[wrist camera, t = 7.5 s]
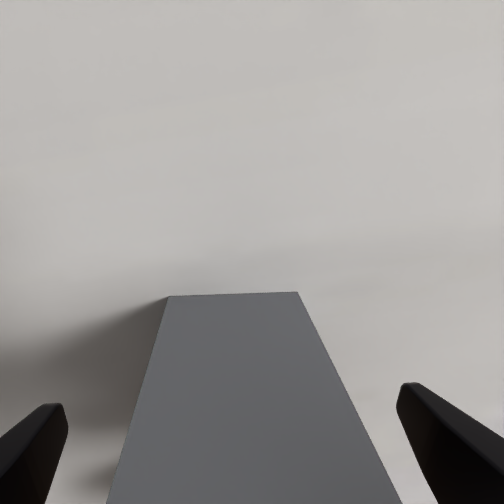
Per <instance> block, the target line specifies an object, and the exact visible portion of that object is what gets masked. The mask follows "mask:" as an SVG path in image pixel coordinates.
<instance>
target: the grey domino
mask: <svg viewBox="0 0 504 504" xmlns="http://www.w3.org/2000/svg"><path fill="white" fill-rule="evenodd" d="M106 504H402V502H401V500H400V498H399V496H398V494H397V492H396V490H395V488H394V486H393V484H392V482H391V480H390V478H389V476H388V474H387V472H386V470H385V468H384V466H383V464H382V462H381V460H380V457H379V455H378V453H377V451H376V449H375V447H374V445H373V443H372V441H371V439H370V437H369V435H368V433H367V431H366V429H365V427H364V425H363V423H362V421H361V419H360V417H359V415H358V413H357V411H356V409H355V407H354V405H353V403H352V401H351V399H350V397H349V395H348V393H347V391H346V389H345V387H344V385H343V383H342V381H341V379H340V377H339V375H338V373H337V371H336V369H335V367H334V365H333V363H332V361H331V359H330V357H329V355H328V353H327V351H326V349H325V347H324V344H323V342H322V340H321V338H320V336H319V334H318V332H317V330H316V328H315V326H314V324H313V322H312V320H311V318H310V316H309V314H308V312H307V310H306V308H305V306H304V304H303V302H302V300H301V298H300V296H299V294H298V292H279V293H250V294H222V295H193V296H169V297H168V300H167V304H166V307H165V310H164V314H163V317H162V320H161V324H160V327H159V330H158V334H157V337H156V340H155V343H154V347H153V350H152V353H151V357H150V360H149V363H148V367H147V370H146V373H145V377H144V380H143V383H142V386H141V390H140V393H139V396H138V400H137V403H136V406H135V410H134V413H133V416H132V420H131V423H130V426H129V429H128V433H127V436H126V439H125V443H124V446H123V449H122V453H121V456H120V459H119V463H118V466H117V469H116V472H115V476H114V479H113V482H112V486H111V489H110V492H109V496H108V499H107V502H106Z"/></svg>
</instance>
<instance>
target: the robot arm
mask: <svg viewBox="0 0 504 504" xmlns="http://www.w3.org/2000/svg"><path fill="white" fill-rule="evenodd" d="M396 410H397V414H398V416H399V419H400V421H401V423H402V426H403V428H404V430H405V433H406V435H407V438H408V440H409V442H410V445H411V447H412V450H413V452H414V454H415V457H416V459H417V461H418V464H419V466H420V468H421V470H422V473H423V475H424V477H425V479H426V481H427V483H428V485H429V487H430V488H431V490H432V492H433V494H434V496H435V498H436V500H437V502H438V504H504V438H503V437H501V436H499V435H498V434H496V433H495V432H493V431H492V430H490V429H489V428H487V427H486V426H484V425H483V424H481V423H480V422H478V421H476V420H475V419H473V418H472V417H470V416H469V415H467V414H466V413H464V412H463V411H461V410H460V409H458V408H457V407H455V406H454V405H452V404H450V403H449V402H447V401H446V400H444V399H443V398H441V397H440V396H438V395H437V394H435V393H434V392H432V391H431V390H429V389H427V388H426V387H424V386H423V385H421V384H420V383H416V382H413V383H404V384H403V385H402V386H401V389H400V392H399V396H398V399H397V403H396ZM67 435H68V423H67V419H66V415H65V412H64V408H63V405H62V404H60V403H49V404H43V405H41V406H39V407H38V408H37V409H36V410H34V411H33V412H32V413H31V414H29V415H28V416H27V417H26V418H24V419H23V420H22V421H21V422H19V423H18V424H17V425H15V426H14V427H13V428H12V429H10V430H9V431H8V432H7V433H5V434H4V435H3V436H2V437H0V504H45V501H46V499H47V496H48V493H49V490H50V487H51V484H52V481H53V478H54V475H55V472H56V469H57V466H58V463H59V460H60V457H61V454H62V451H63V448H64V445H65V442H66V439H67Z"/></svg>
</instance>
